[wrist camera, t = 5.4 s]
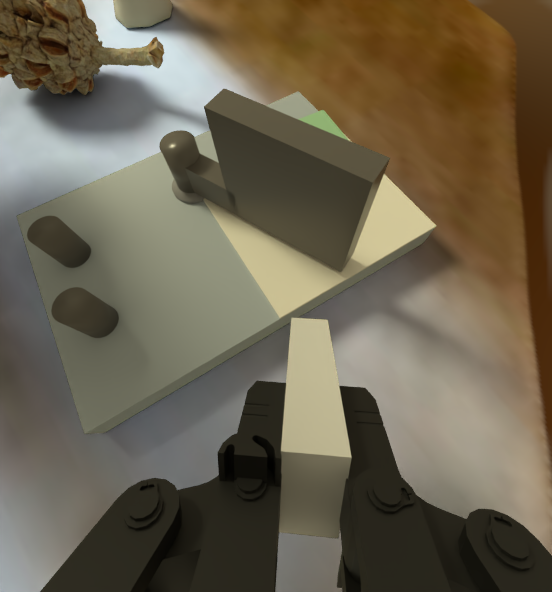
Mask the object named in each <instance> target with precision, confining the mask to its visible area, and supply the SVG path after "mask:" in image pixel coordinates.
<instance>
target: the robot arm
mask: <svg viewBox="0 0 552 592" xmlns="http://www.w3.org/2000/svg"><path fill="white" fill-rule="evenodd" d="M218 467H219V475H218V476H217V477H216V478H214V479H213V480H211V481H209V482H207V483H204V484H201V485H198V486H194V487H189V488H185V489H181V490H177V489H176V487H175V485H173V484H172V483H170V482H169V481H167V480H165V479H158V478H152V479H148V480H143V481H141V482H139V483H137V484H135V485H133V486H131V487H129V488H128V489H127V490H126V491H125V492H124V493H123V494H122V495H121V496H120V497H119V498H118V499H117V500H116V501H115V502H114V503H113V505H112V506H111V507H110V508H109V509H108V511H107V512H106V513H105V514H104V515H103V517H102V518H101V519H100V520H99V521H98V523H97V524H96V525H95V526H94V528H93V529H92V530H91V531H90V532H89V534H88V535H87V536H86V537H85V538H84V540H83V541H82V542H81V543H80V544H79V546H78V547H77V548H76V549H75V550H74V552H73V553H72V554H71V555H70V557H69V558H68V559H67V560H66V561H65V563H64V564H63V565H62V566H61V567H60V569H59V570H58V571H57V572H56V573H55V575H54V576H53V577H52V578H51V579H50V581H49V582H48V583H47V584H46V586H45V587H44V588H43V589H42V590H41V592H275V586H276V570H277V552H278V536H279V532H282V533H292V534H301V535H310V536H320V537H329V538H338V537H339V531H341V540H342V555H341V560H340V566H339V572H338V580H337V587H338V588H342V591H343V592H552V556H551V554H550V553H549V552H548V551H547V550H546V548H545V547H544V546H543V545H542V544H541V543H540V541H539V540H538V539H537V538H536V537H535V536H534V535H533V534H531V533H530V532H529V531H528V530H527V529H526V528H525V527H524V526H523V525H521V524H520V523H518V522H517V521H515V520H514V519H512V518H511V517H509V516H508V515H505V514H503V513H500V512H497V511H495V510H491V509H478V510H475V511H473V512H471V513H470V514H469V516H468V518H467V519H464V518H462V517H459V516H457V515H454V514H452V513H449V512H447V511H444V510H442V509H439V508H437V507H435V506H433V505H431V504H429V503H427V502H425V501H424V500H422V499H421V498H420V497H418V496H417V495H416V494H415V492H414V491H413V489H412V487H411V486H410V485H409V484H408V483H407V482H406V481H405V480H404V479H403V478H402V477H401V475H400V473H399V471H398V467H397V464H396V461H395V458H394V455H393V452H392V449H391V446H390V443H389V440H388V437H387V434H386V431H385V428H384V427H383V421H382V418H381V415H380V412H379V409H378V406H377V403H376V400H375V398H374V397H373V396H372V395H371V394H370V393H369V392H368V390H367V389H366V388H360V387H347V386H339V382H338V376H337V371H336V365H335V359H334V353H333V348H332V342H331V336H330V330H329V325H328V320H323V319H306V318H291V329H290V342H289V355H288V367H287V380H286V383H278V382H265V381H256V382H255V384H254V385H253V386H252V387H251V388H250V389H249V390H248V393H247V397H246V401H245V406H244V408H243V412H242V416H241V420H240V424H239V428H238V432H237V434H234V435H232V436H231V437H229V438H228V439H227V440H226V441H225V442H224V443H223V444H222V446H221V448H220V449H219V451H218Z"/></svg>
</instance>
